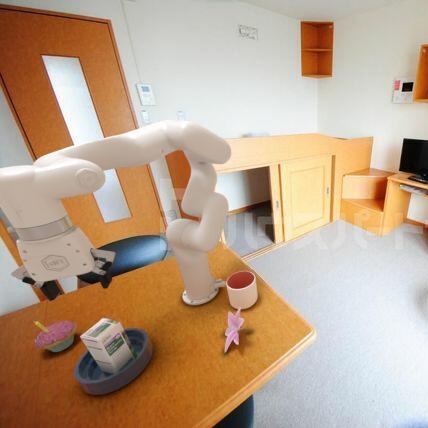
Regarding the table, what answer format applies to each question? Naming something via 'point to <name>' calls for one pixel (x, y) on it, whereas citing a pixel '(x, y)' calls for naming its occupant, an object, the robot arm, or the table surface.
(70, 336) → the cupcake
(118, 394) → the table surface
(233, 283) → the cup
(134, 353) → the syrup box
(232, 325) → the lily
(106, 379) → the bowl
